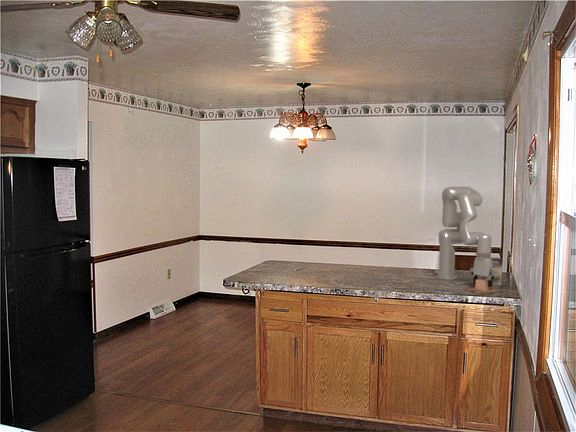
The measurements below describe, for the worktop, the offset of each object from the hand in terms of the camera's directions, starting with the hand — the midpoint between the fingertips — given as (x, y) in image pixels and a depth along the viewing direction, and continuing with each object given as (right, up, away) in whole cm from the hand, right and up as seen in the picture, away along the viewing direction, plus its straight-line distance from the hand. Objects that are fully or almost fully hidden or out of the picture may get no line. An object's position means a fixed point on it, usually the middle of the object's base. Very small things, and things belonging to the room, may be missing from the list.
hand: (482, 285), depth 318 cm
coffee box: (+13, -2, +20) cm, 24 cm away
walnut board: (0, -4, 0) cm, 4 cm away
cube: (0, -2, 0) cm, 2 cm away
